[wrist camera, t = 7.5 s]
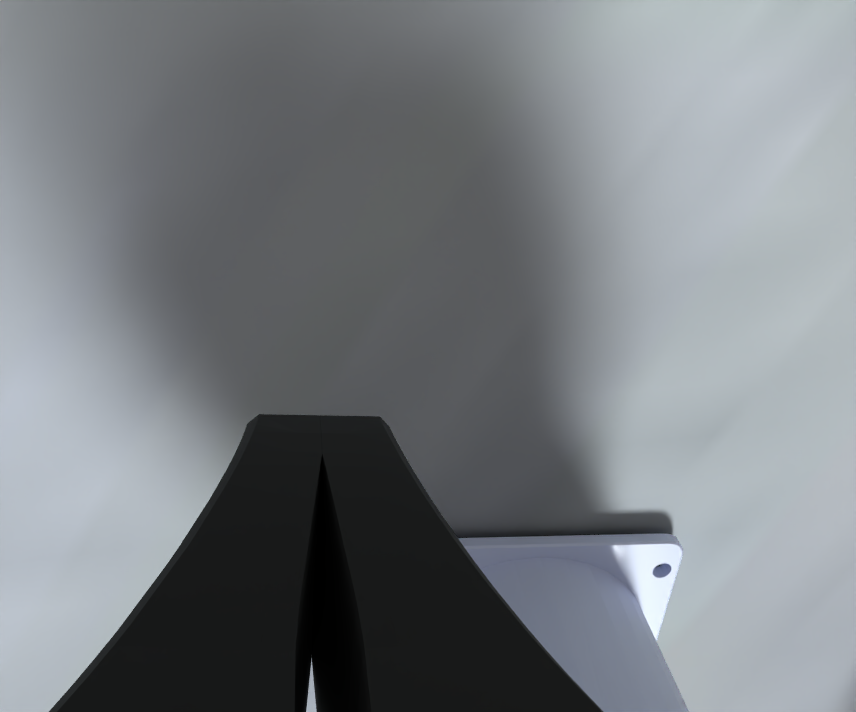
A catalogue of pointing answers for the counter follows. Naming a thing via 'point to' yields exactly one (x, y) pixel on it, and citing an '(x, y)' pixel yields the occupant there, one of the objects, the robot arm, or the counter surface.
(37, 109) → the counter surface
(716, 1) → the counter surface
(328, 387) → the counter surface
